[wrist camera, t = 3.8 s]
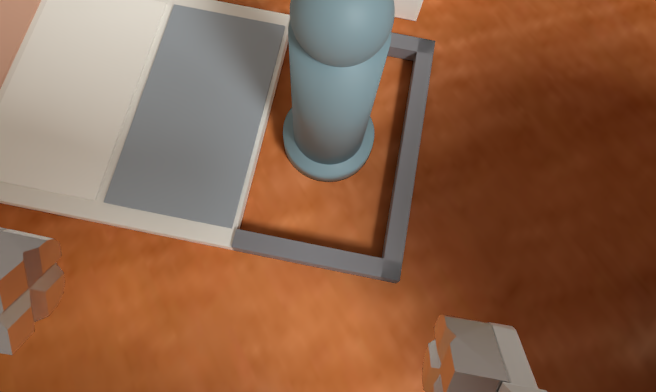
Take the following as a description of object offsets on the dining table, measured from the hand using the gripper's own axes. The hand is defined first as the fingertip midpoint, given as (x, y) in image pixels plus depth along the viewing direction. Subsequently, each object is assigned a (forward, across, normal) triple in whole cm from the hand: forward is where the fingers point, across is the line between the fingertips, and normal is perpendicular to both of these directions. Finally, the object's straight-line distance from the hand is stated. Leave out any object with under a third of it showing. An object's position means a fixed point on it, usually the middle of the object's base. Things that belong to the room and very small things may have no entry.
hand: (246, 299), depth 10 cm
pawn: (+18, 0, +3) cm, 19 cm away
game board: (+19, +11, +3) cm, 22 cm away
